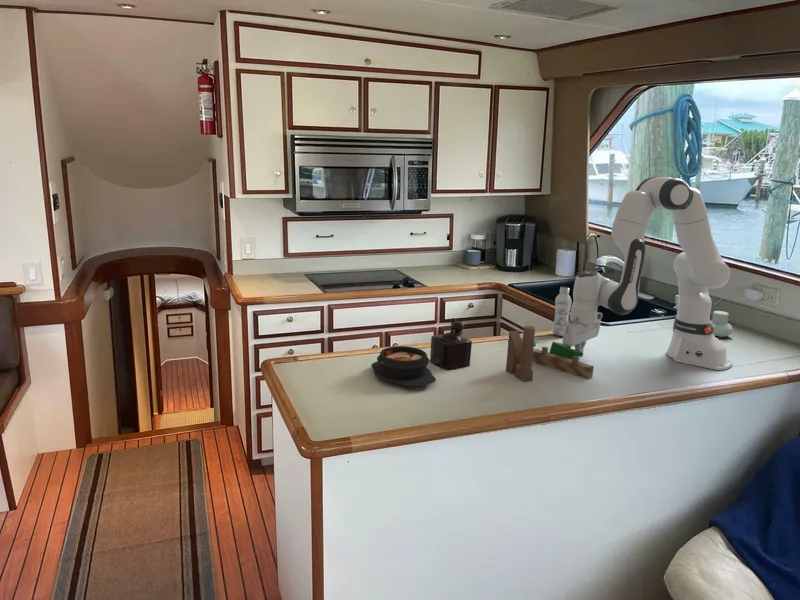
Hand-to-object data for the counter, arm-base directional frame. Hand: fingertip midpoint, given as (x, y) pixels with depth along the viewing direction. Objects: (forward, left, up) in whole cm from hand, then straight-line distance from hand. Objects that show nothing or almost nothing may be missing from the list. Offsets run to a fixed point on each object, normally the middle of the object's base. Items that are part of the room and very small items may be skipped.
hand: (578, 352), depth 228 cm
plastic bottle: (+20, -21, -3) cm, 29 cm away
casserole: (+29, +62, -3) cm, 68 cm away
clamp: (+2, +5, -3) cm, 6 cm away
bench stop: (0, +14, -3) cm, 14 cm away
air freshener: (-23, -76, -3) cm, 80 cm away
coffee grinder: (+25, +41, -3) cm, 48 cm away
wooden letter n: (+5, +31, -3) cm, 31 cm away
